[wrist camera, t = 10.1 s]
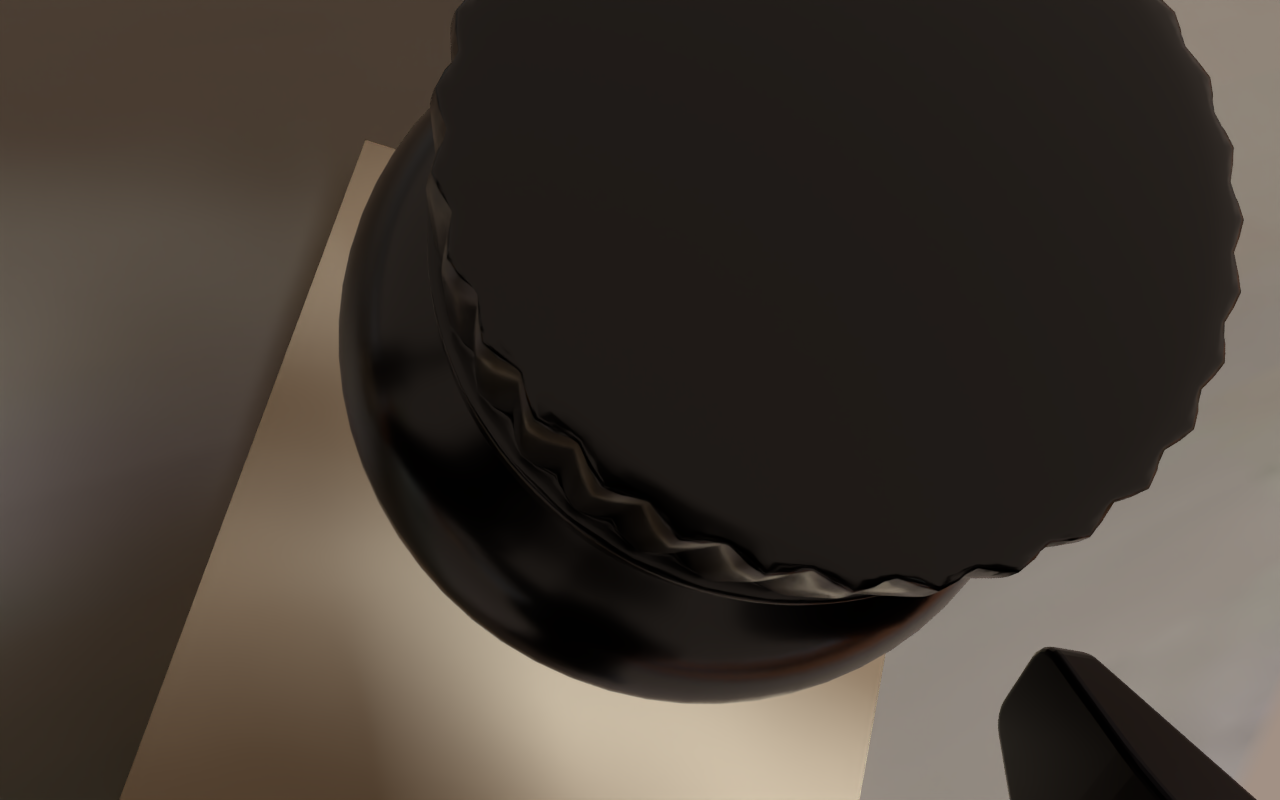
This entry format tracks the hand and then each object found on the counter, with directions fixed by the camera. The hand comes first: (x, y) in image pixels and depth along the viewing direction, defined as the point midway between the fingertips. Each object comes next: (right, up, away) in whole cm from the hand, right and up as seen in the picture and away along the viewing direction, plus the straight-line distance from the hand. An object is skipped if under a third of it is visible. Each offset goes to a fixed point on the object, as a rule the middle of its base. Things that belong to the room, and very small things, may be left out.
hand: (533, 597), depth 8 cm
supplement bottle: (0, +1, +9) cm, 9 cm away
